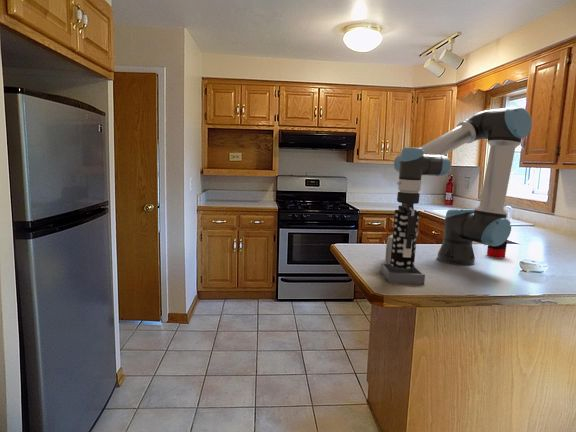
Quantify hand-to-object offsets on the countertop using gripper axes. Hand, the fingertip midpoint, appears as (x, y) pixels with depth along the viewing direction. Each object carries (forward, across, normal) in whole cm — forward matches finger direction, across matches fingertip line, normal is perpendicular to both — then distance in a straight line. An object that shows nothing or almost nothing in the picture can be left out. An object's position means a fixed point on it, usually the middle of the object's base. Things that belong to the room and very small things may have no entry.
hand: (403, 253), depth 138 cm
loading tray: (+9, 0, 0) cm, 9 cm away
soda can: (+9, -41, +56) cm, 70 cm away
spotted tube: (+5, 0, 0) cm, 5 cm away
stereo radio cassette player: (+9, -19, +5) cm, 22 cm away
